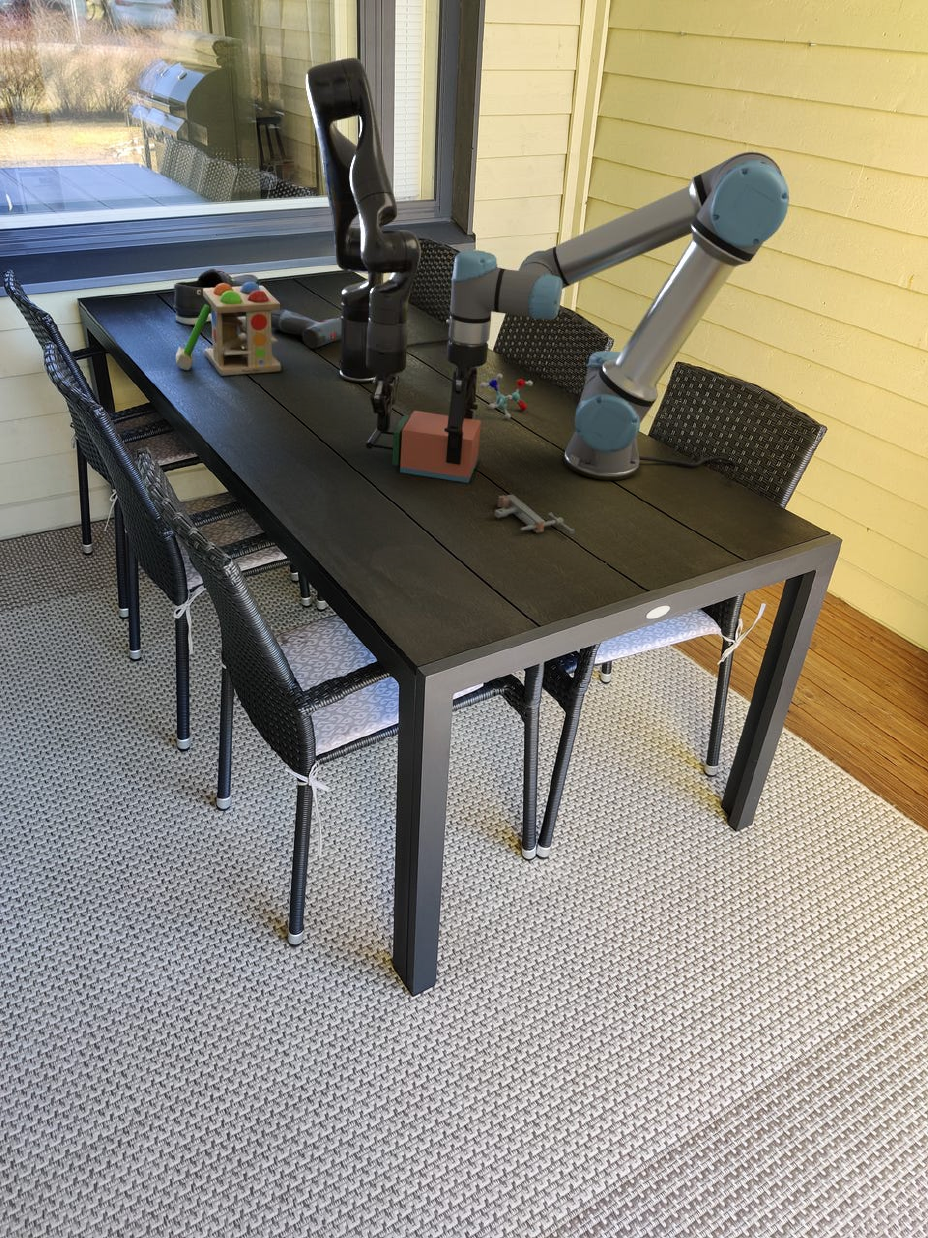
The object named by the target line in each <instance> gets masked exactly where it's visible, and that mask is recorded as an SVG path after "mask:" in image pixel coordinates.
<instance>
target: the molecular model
mask: <svg viewBox="0 0 928 1238" xmlns="http://www.w3.org/2000/svg"><path fill="white" fill-rule="evenodd" d="M503 377H504V376H503V374H502V373H498V374H497V375H496V378H495V379H492V380H490V382H485V381H482V382H481V383H480V387H481V388H482V389H485V388H486V387H487V386H488V387H489V386H490V387H491V388H493V389H494V391H495V393H496V394H497V396H496V401H495V402H493V403H490V404H488V409H489V410H494V409H495V410H496V408H499V410H503V412H504V418H505V419H507V420H509V419H511V418H512V417H511V416H512V415H511V413H508V410H507V405H508V404H507V403H508V402H509V401H511V400H513V401H515V402H516V403H517V405H518V406H519V410H521V411H523V412H525V411H526V410H527V408H528V406H527V404H525V403H524V402H523V400H522V399H521V398H520V397H521V396H520V393H519V392H520V389H521V387H523V386H524V385H527V386H528V387H532V386H533V381H532V380H528V381H524V380H523V379H522V378H519V379H517V380H516V385H517V387H516V390H515V391H514V392H512V394H507V395H506V396H505V395H504V394H502V393H500V391H499V389H498V382H499V380H502V379H503Z"/></svg>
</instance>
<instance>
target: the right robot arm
mask: <svg viewBox="0 0 928 1238" xmlns="http://www.w3.org/2000/svg"><path fill="white" fill-rule="evenodd" d="M780 168H781V167H780V166H779V165H778V164H777V163H776V162H775V160H774V159H773V158H771V157H770V156H768V155H767V154H765V153H762V152H757V151H747V152H746V151H745V152H742V153H741V152H740V153H738V154H735V155H734V156H731V157H729V158H728V159H726V160H724V161H723V162H721V163H719V164H717V165H715V166H713V167H711V168H710V169H707V170H706V171H703V172H701V173H699V174H697V175H695V176H692V177H691V180H689V181H690V182H689V183H688V185H687V186H685V187H684V188H681V189H679V190H676V191H675V192H672V193H669V194H668V195H666V196H663V197H660V198H659V199H657V200H654V201H652V202H650V203H648V204H645V205H643V206H641V207H638V208H637V209H634V210H632V211H630V212H628V213H625V214H623V215H622V216H619V217H616V218H614V219H612V220H609V221H608V222H606V223H603V224H601V225H599V226H597V227H595V228H592V229H590V230H588V231H586V232H585V231H584V232H583V233H581V234H579V235H577V236H575V237H572V238H570V239H567V240H566V241H564V242H561V243H559V244H557V245H555V246H552V247H550V248H547V249H546V250H545V249H544V250H536V251H534V252H532V253H531V254H529V255H527V256H526V257H525V258H524V259H523V261H522V262H521V264H520V266H519V269H518V270H515V269H508V268H502V267H498V263H497V261H498V260H497V257H496V255H495V254H493V253H491V252H486V251H484V250H477V249H476V250H475V249H468V250H464V251H459V252H458V253H457V255H455V257H454V264H453V271H452V277H451V291H450V308H449V309H450V310H449V318H447V319H446V321H445V324H447V325H448V326H449V327H448V335H447V336H448V338H450V339H449V340H448V341H447V345H446V346H447V347H446V360H447V362H449V363H450V364H452V365H455V366H456V367H455V371H453V375H452V380H451V395H450V403H449V411H448V416H449V417H448V425H447V428H445V429H444V431H445V432H447V433H448V444H447V456H446V463H451V464H457V465H460V463H461V452H462V441H463V430H462V428H463V422H464V418H467V419H473V418H474V411H477V410H478V406H479V405H478V404H476V402H477V380H478V367H482V366H484V365H485V364H486V363H487V361H488V354H489V353H488V352H489V344H488V342H489V341H490V337H491V334H490V333H491V325H492V313H497V314H498V313H499V314H504V315H511V316H517V317H524V318H529V319H533V320H545V321H546V320H547V321H548V320H549V321H552V320H554V319H556V318H557V316H558V315H559V311H560V306H561V301H562V293H563V292H562V291H563V289H565V288H568V287H570V286H572V285H574V284H576V283H578V282H581V281H583V280H585V279H588V278H590V277H593V276H596V275H598V274H600V273H602V272H604V271H606V270H609V269H611V268H614V267H616V266H619V265H622V264H624V263H626V262H629V261H630V260H633V259H636V258H637V257H640V256H642V255H644V254H647V253H649V252H651V251H654V250H656V249H659V248H661V247H663V246H666V245H668V244H671V243H673V242H675V241H677V240H680V239H681V238H685V237H687V236H689V235H692V237H691V238H692V239H691V240H690V241H689V243H688V245H687V247H686V248H685V250H684V252H683V253H682V255H681V256H680V258H679V260H678V261H677V263H676V264H675V266H674V267H673V269H672V271H671V272H670V274H669V275H668V277H667V278H666V280H665V281H664V283H663V285H662V286H661V288H660V289H659V291H658V292H657V294H656V296H655V297H654V299H653V301H652V302H651V304H650V305H649V306H648V308H647V309H646V312H645V313H644V315H643V316H642V318H641V319H640V321H639V322H638V324H637V326H636V327H635V329H634V330H633V332H632V334H631V335H630V337H629V338H628V340H626V341H627V342H626V343H625V345H624V346H623V348H622V350H621V351H612V350H611V351H608V350H607V351H606V350H603V351H602V350H601V351H596V352H594V353H592V354H591V355H590V356H589V359H588V363H587V364H586V369H587V370H586V376H585V381H584V385H583V389H582V393H581V396H580V399H579V402H578V405H577V407H576V409H575V413H574V427H575V431H574V433H573V434H572V436H571V438H570V441H569V442H568V444H567V446H566V449H565V452H564V459H563V461H564V465H566V466H567V468H569V469H570V470H571V471H573V472H574V473H577V474H578V475H581V476H584V477H586V478H590V479H593V480H600V481H622V480H627V479H629V478H632V477H634V476H635V475H637V473H638V470H639V466H640V461H647V462H656V463H665V464H672V465H673V464H674V465H678V466H683V467H689V468H695V467H699V466H701V464H703V463H706V462H713V461H725V462H728V463H729V464H731V465H732V466H737V463H736V461H734V460H733V459H732V460H728V458H729V457H728V458H727V456H721V455H720V456H710V457H703V458H701V459H700V460H698V461H696V462H685V461H681V460H678V459H677V460H676V459H670V458H662V457H661V458H660V457H652V456H651V457H650V456H643V455H641V456H640V455H639V447H638V440H637V436H638V435H639V431H640V427H641V423H642V422H643V420H644V419H645V417H646V415H647V414H648V413H649V412H650V410H651V408H652V407H653V406H654V404H655V402H656V401H657V399H658V398H659V392H658V388H657V384H658V383H659V382H660V380H661V379H662V377H663V376H664V374H665V373H666V371H667V370H668V368H669V367H670V365H671V364H672V363H673V361H674V360H675V358H676V356H677V355H678V353H679V352H680V350H681V349H682V347H683V346H684V344H685V343H686V341H688V339H689V337H690V335H692V333H693V331H694V330H695V328H696V327H697V325H698V324H699V322H700V321H701V319H702V318H703V316H704V315H705V313H706V312H707V310H708V309H709V307H710V306H711V305H712V303H713V302H714V300H715V299H716V298H717V295H718V294H719V293H720V291H721V290H722V288H723V286H724V285H725V283H727V281H728V279H729V277H730V276H731V275H732V273H733V272H734V270H735V269H736V268H737V267H739V266H742V265H746V264H749V263H751V262H752V260H753V259H754V257H755V255H756V254H757V253H758V251H759V250H760V248H761V247H762V246H763V244H764V242H767V241H768V240H769V239H770V238H772V237H773V236H774V235H775V234H776V232H778V230H779V229H780V228H781V227H782V224H783V223H784V221H785V218H786V217H787V214H788V208H789V205H790V203H789V202H790V196H789V195H790V191H789V186H788V184H787V181H786V179H785V177H784V176H783V173H782V171H781V169H780Z"/></svg>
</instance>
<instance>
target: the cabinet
mask: <svg viewBox="0 0 928 1238" xmlns="http://www.w3.org/2000/svg"><path fill="white" fill-rule="evenodd" d="M409 416H410V418H409V420H408V421H407V423H406V425H405V426H404V428H403V429H402V445H401V461H400V465H399V466H400V467H399V472H400V473H403V474H408V475H409V474H410V475H416V476H422V477H428V478H436V479H439V480H440V479H442V480H447V481H454V482H460V483H467V484H469V483H470V480H471V478H472V476H473V473H474V471H475V468H476V466H477V464H478V458H479V448H480V437H481V428H482V420H479V419H467V418H464V422H463V428H462V430H463V441H462V452H461V463H460V465H457V464H451V463H446V456H447V444H448V433H447V432H445V431H444V429H445V428H447V425H448V417H449V415H447V414H440V413H434V412H426V411H419V410H413V411H412V413H411V414H410V415H409Z"/></svg>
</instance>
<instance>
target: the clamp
mask: <svg viewBox="0 0 928 1238" xmlns="http://www.w3.org/2000/svg"><path fill="white" fill-rule="evenodd" d="M497 508H498V509H495V510H494V516H495V517H496V518H497V519H499V518H505V517H507V516H508V515H512V514H513V515H514V516H516V517H517V518H518V519H519V520H521V522H523V523H524V524H525V526H523V527H520V531H521V532H523V531H531V530H532V531H534V532H535V533H536V534H537V533H538V534H540V533H542V532H544V531H545V527H549V526H562V527H563V528H564V529H565V530H567V531H568V533H569V534H570V535H573V534H574V533H575V529H574V528H570V527H569V526H568V525H566V524H565V523H564V519H563V518H562V517H561V516H560V517H556V516H555V515H554V514H553V512H549V513H548V514H547V517H548V518H551V520H548V521H546V520H545V519H543V518H542V517H541V516H540V515H539V514H537V513H536V512H535V511H534V510H532V509H531V508H530V507H529V506H528V505H526V504H525V503H524V502H523V501H522V500H520V499H519V498H518V497H517V496H515V495H514V494H508V495H499V496H498V499H497ZM552 519H553V520H552Z"/></svg>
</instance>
